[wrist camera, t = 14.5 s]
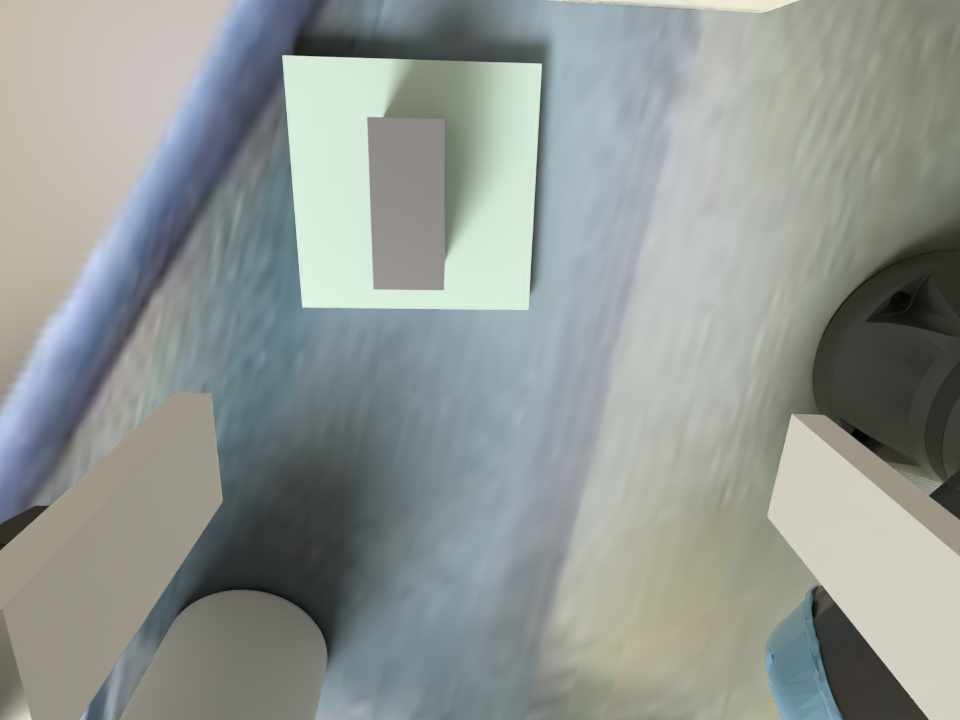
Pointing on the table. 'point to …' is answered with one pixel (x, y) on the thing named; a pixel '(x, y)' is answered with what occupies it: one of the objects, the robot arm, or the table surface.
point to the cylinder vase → (234, 663)
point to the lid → (413, 181)
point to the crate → (700, 4)
